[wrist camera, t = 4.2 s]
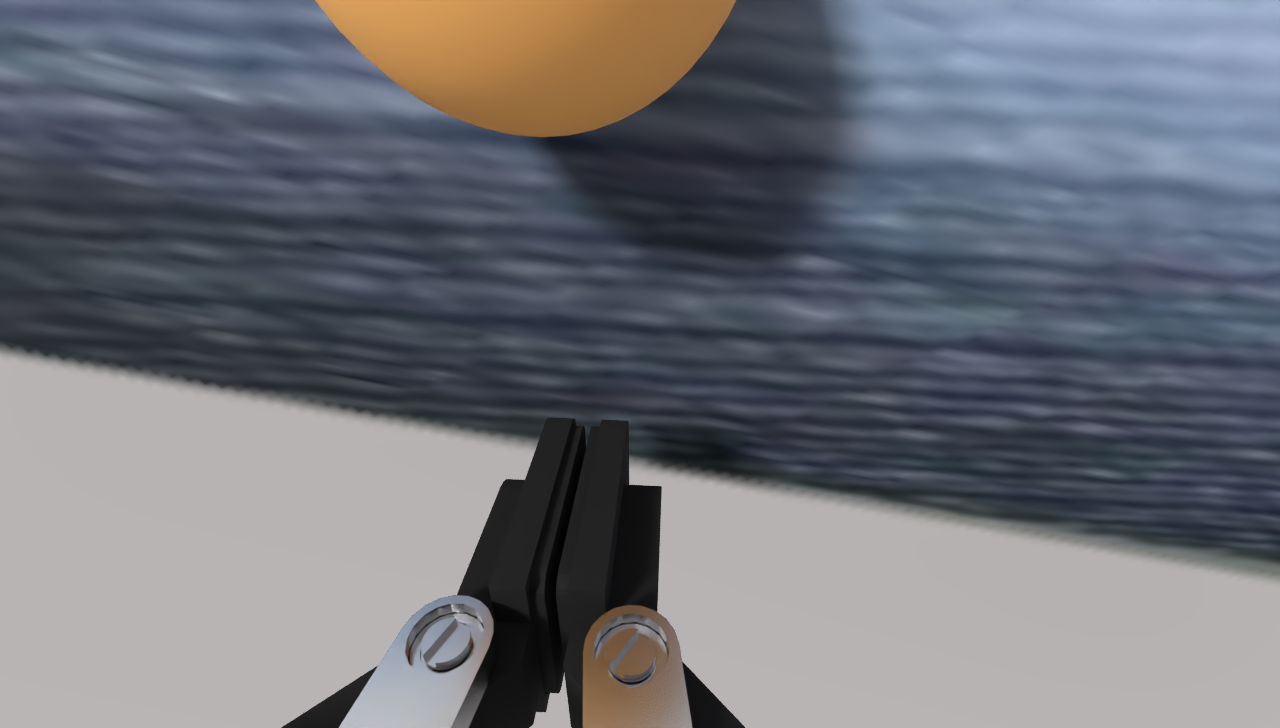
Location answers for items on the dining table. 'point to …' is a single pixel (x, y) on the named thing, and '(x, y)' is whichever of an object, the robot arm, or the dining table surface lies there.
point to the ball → (532, 55)
